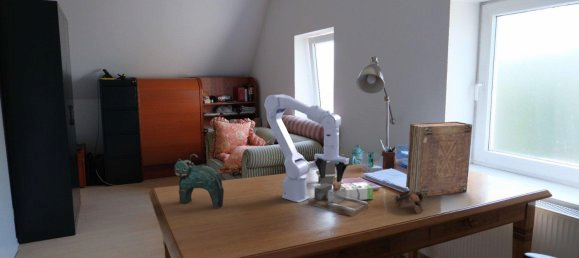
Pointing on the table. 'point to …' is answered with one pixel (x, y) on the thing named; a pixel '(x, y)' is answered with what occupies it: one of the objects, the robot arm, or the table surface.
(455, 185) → the book
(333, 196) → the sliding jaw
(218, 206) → the ceramic cat
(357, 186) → the ink box
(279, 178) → the table surface
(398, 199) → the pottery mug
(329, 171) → the architectural model
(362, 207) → the base
